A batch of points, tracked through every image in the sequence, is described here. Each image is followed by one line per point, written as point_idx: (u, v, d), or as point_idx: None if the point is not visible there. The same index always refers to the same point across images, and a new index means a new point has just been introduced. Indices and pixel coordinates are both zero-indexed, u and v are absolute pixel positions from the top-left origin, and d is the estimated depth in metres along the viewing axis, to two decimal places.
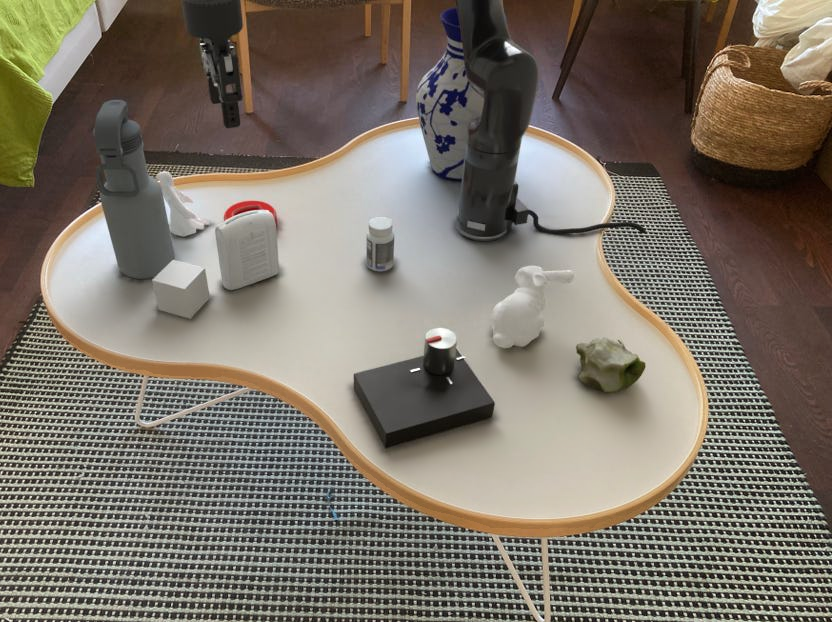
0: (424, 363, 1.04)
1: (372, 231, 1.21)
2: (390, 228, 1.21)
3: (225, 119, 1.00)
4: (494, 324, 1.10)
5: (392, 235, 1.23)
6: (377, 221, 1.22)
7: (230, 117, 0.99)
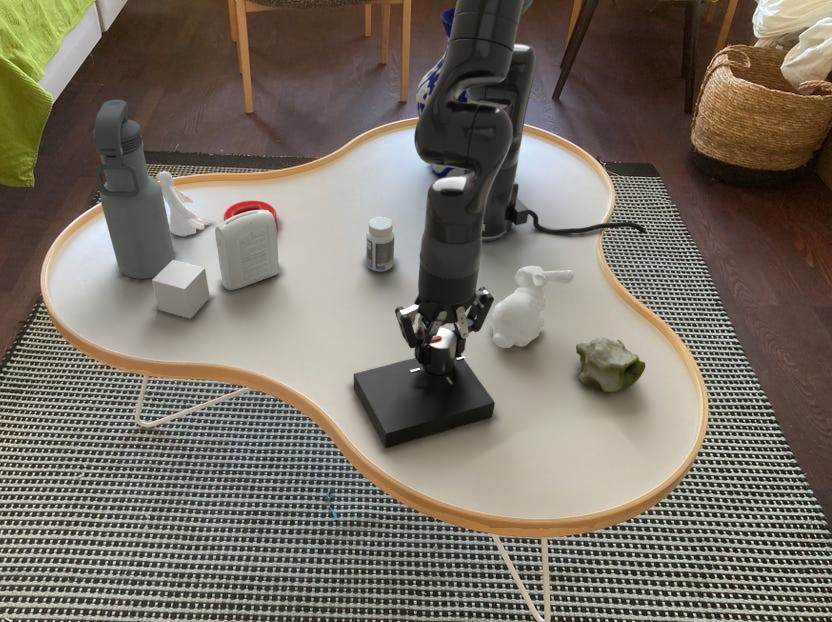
0: None
1: (372, 231, 1.21)
2: (390, 228, 1.21)
3: None
4: (494, 324, 1.10)
5: (392, 235, 1.23)
6: (377, 221, 1.22)
7: (415, 353, 1.02)
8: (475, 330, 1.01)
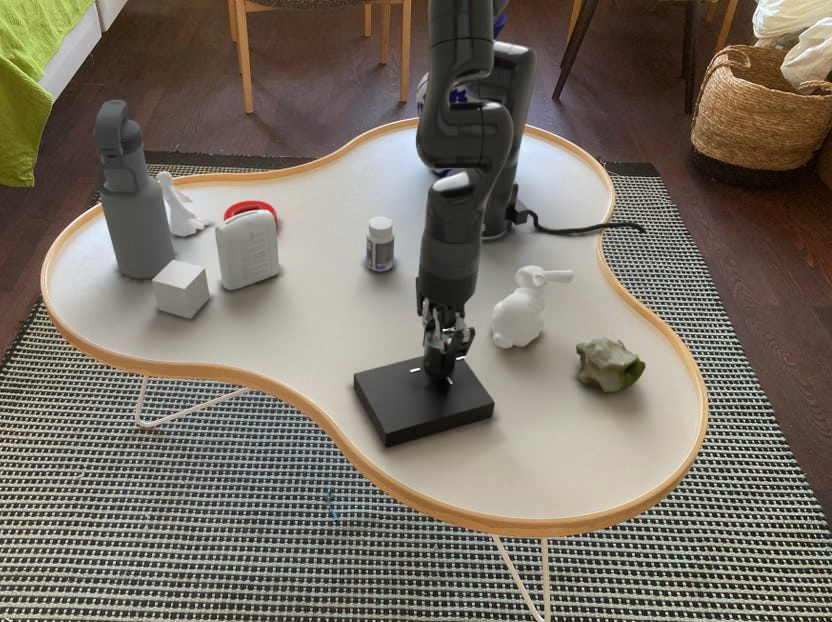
0: None
1: (372, 231, 1.21)
2: (390, 228, 1.21)
3: (441, 366, 1.01)
4: (494, 324, 1.10)
5: (392, 235, 1.23)
6: (377, 221, 1.22)
7: (448, 365, 1.00)
8: None
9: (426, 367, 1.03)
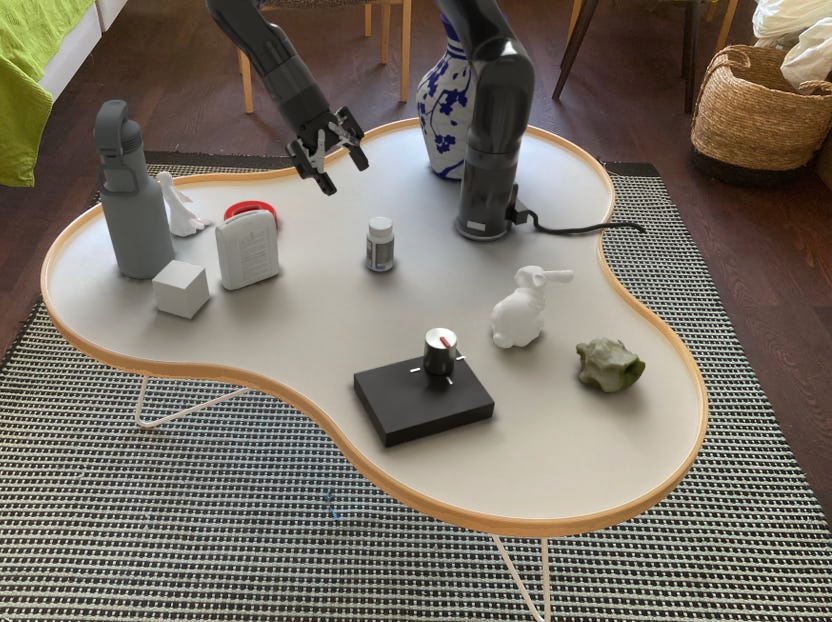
0: (445, 370, 1.03)
1: (372, 231, 1.21)
2: (390, 228, 1.21)
3: None
4: (494, 324, 1.10)
5: (392, 235, 1.23)
6: (377, 221, 1.22)
7: (322, 188, 1.18)
8: (362, 136, 1.22)
9: (426, 367, 1.03)
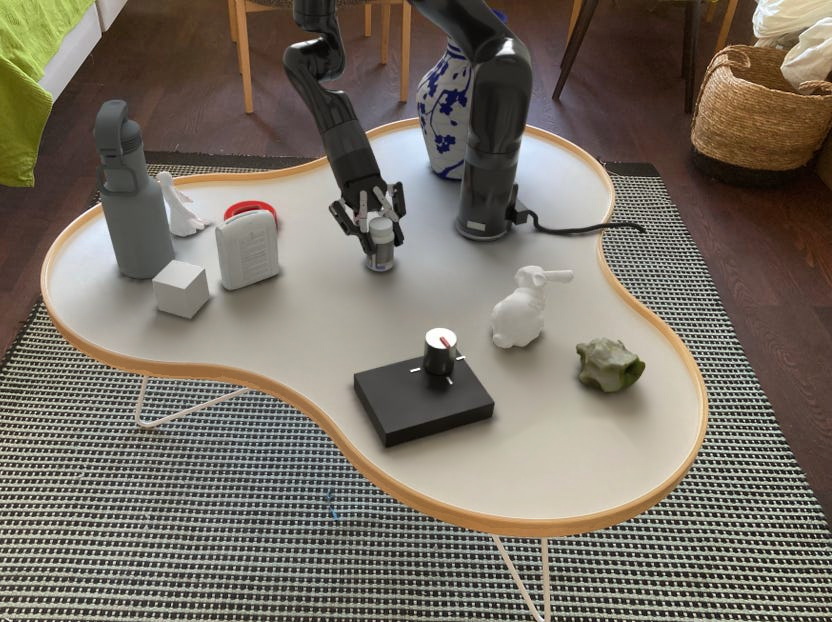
0: (445, 370, 1.03)
1: (372, 231, 1.21)
2: (390, 228, 1.21)
3: None
4: (494, 324, 1.10)
5: (392, 235, 1.23)
6: (377, 221, 1.22)
7: (363, 246, 1.22)
8: (402, 214, 1.24)
9: (426, 367, 1.03)
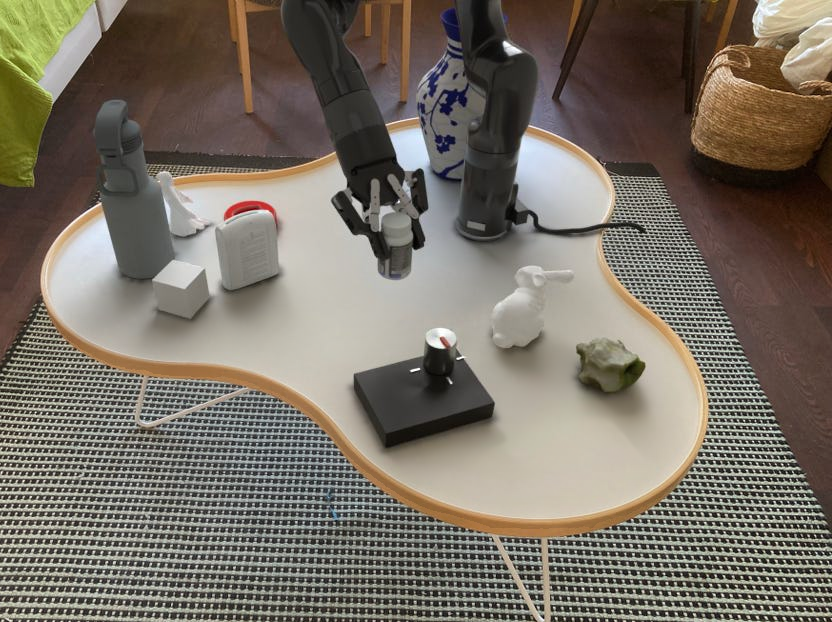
0: (445, 370, 1.03)
1: (386, 229, 0.96)
2: (408, 226, 0.96)
3: None
4: (494, 324, 1.10)
5: (410, 235, 0.98)
6: (392, 217, 0.97)
7: (373, 249, 0.98)
8: (423, 209, 0.99)
9: (426, 367, 1.03)
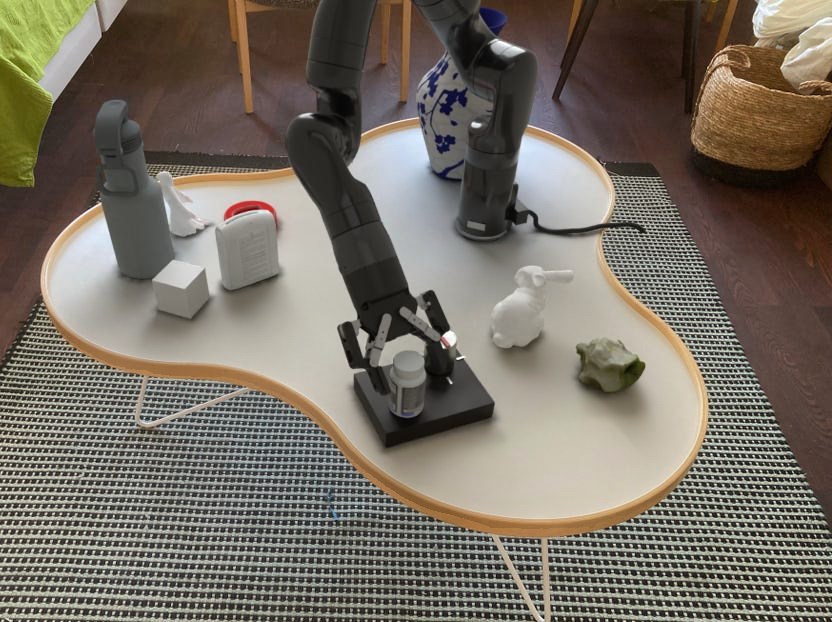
0: (445, 370, 1.03)
1: (398, 372, 0.92)
2: (421, 368, 0.92)
3: None
4: (494, 324, 1.10)
5: (423, 375, 0.94)
6: (404, 357, 0.93)
7: (373, 384, 0.92)
8: (446, 330, 0.95)
9: (426, 367, 1.03)
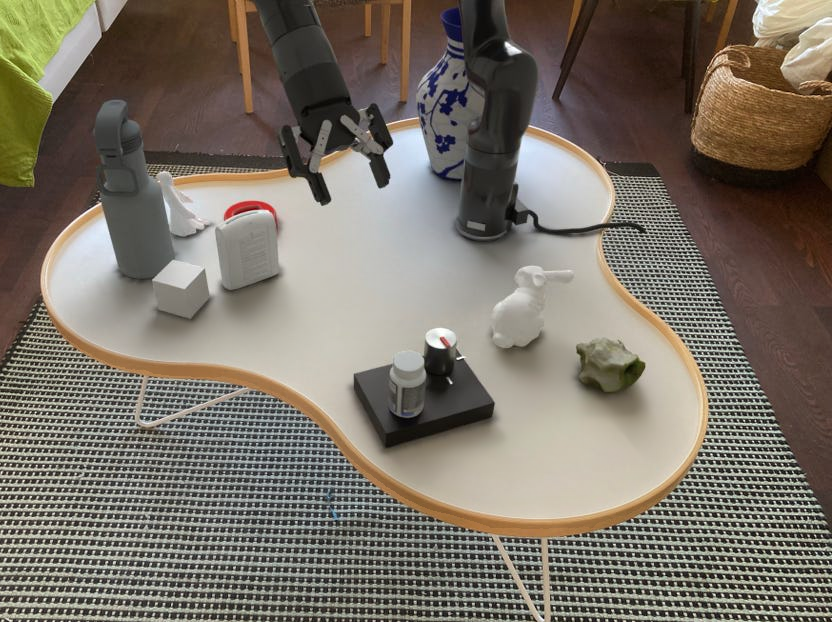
0: (445, 370, 1.03)
1: (398, 372, 0.92)
2: (421, 368, 0.92)
3: None
4: (494, 324, 1.10)
5: (423, 375, 0.94)
6: (404, 357, 0.93)
7: (313, 193, 0.91)
8: (389, 144, 0.94)
9: (426, 367, 1.03)
